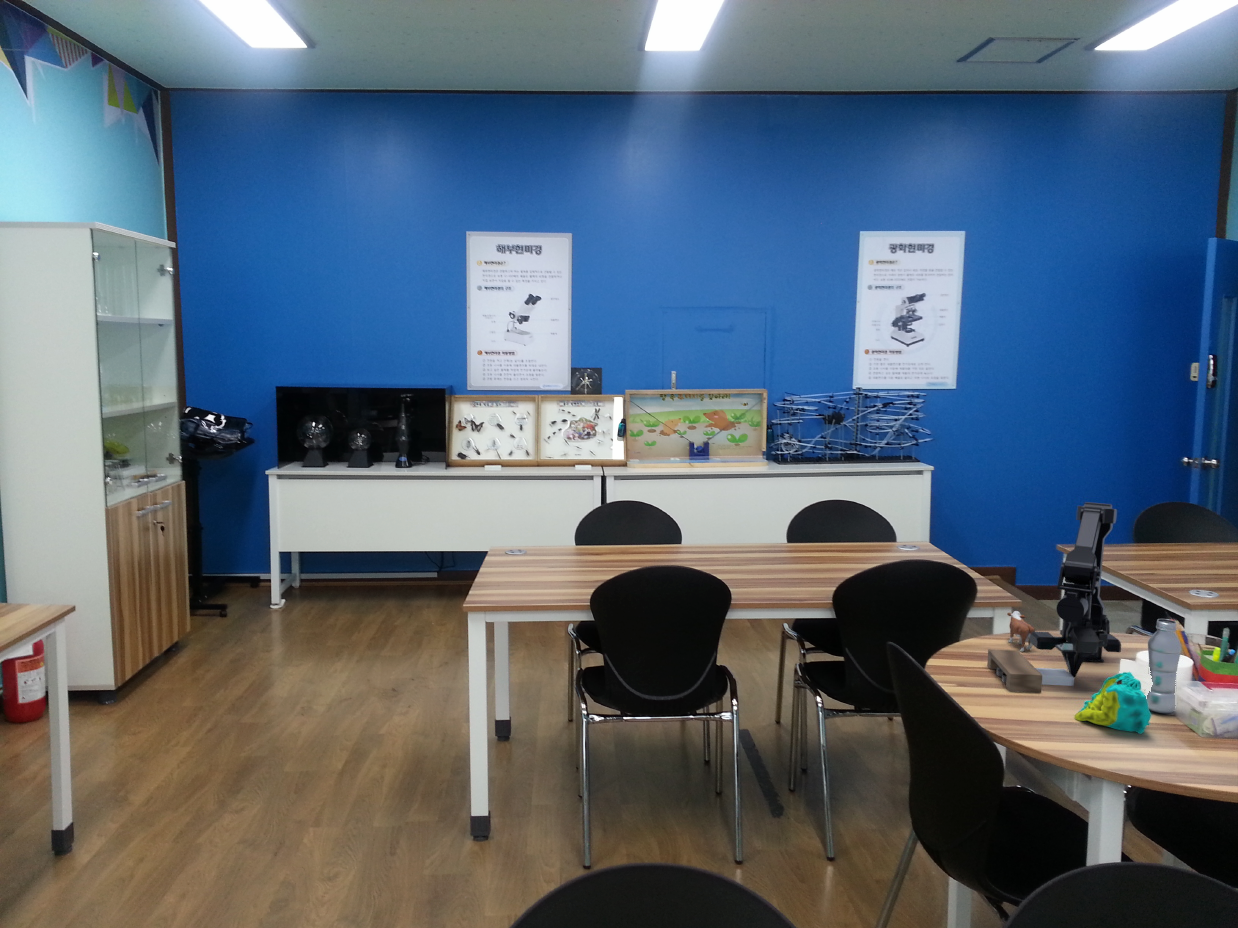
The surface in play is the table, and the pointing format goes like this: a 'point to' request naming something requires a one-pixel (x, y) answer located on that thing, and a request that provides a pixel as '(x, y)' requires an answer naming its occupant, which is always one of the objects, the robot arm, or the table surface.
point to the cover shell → (1056, 677)
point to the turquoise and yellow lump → (1118, 705)
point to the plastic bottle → (1163, 666)
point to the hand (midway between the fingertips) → (1072, 677)
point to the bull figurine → (1020, 629)
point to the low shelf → (1015, 671)
